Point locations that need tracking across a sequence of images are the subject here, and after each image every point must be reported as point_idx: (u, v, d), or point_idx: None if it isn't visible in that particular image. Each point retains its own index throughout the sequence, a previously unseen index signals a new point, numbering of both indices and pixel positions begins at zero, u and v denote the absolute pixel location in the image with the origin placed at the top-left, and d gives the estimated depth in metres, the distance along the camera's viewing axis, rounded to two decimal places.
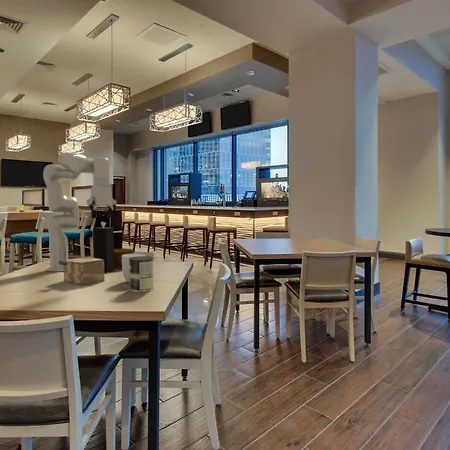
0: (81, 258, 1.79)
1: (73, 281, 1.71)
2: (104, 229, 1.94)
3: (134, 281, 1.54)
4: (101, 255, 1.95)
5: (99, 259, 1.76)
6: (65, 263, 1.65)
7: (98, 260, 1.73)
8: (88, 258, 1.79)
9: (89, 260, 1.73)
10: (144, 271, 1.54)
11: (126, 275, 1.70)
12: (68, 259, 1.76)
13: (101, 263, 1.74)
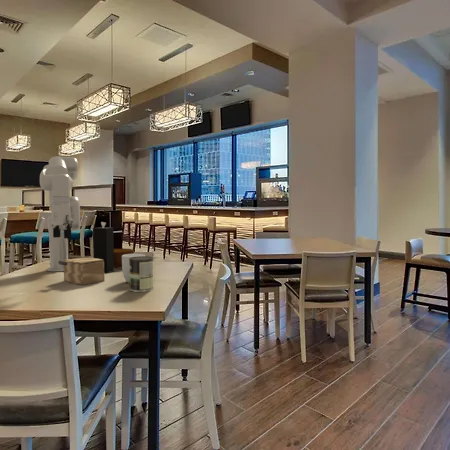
0: (81, 258, 1.79)
1: (73, 281, 1.71)
2: (104, 229, 1.94)
3: (134, 281, 1.54)
4: (101, 255, 1.95)
5: (99, 259, 1.76)
6: (65, 263, 1.65)
7: (98, 260, 1.73)
8: (88, 258, 1.79)
9: (89, 260, 1.73)
10: (144, 271, 1.54)
11: (126, 275, 1.70)
12: (68, 259, 1.76)
13: (101, 263, 1.74)
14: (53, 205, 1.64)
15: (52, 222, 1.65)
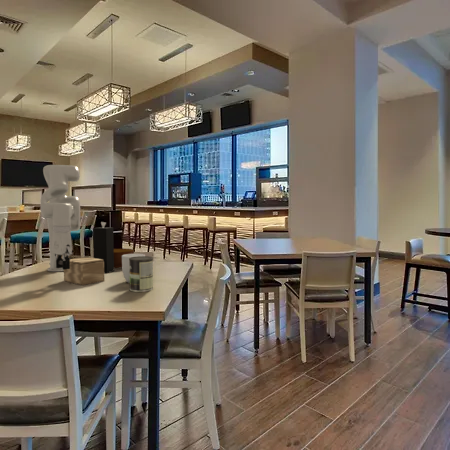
0: (81, 258, 1.79)
1: (73, 281, 1.71)
2: (104, 229, 1.94)
3: (134, 281, 1.54)
4: (101, 255, 1.95)
5: (99, 259, 1.76)
6: None
7: (98, 260, 1.73)
8: (88, 258, 1.79)
9: (89, 260, 1.73)
10: (144, 271, 1.54)
11: (126, 275, 1.70)
12: None
13: (101, 263, 1.74)
14: (54, 234, 1.65)
15: (53, 251, 1.66)
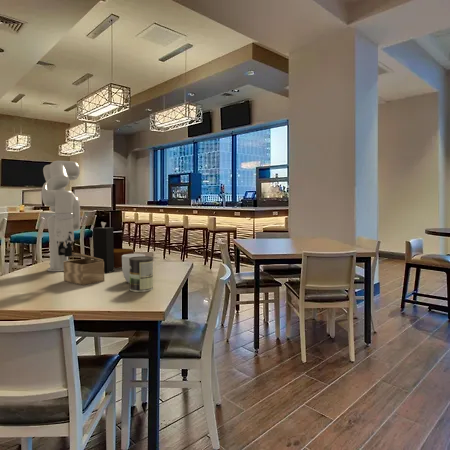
0: (82, 255, 1.79)
1: (73, 281, 1.71)
2: (104, 229, 1.94)
3: (134, 281, 1.54)
4: (101, 255, 1.95)
5: None
6: None
7: (98, 258, 1.73)
8: None
9: (90, 256, 1.73)
10: (144, 271, 1.54)
11: (126, 275, 1.70)
12: None
13: (101, 263, 1.74)
14: (56, 221, 1.66)
15: (55, 238, 1.67)
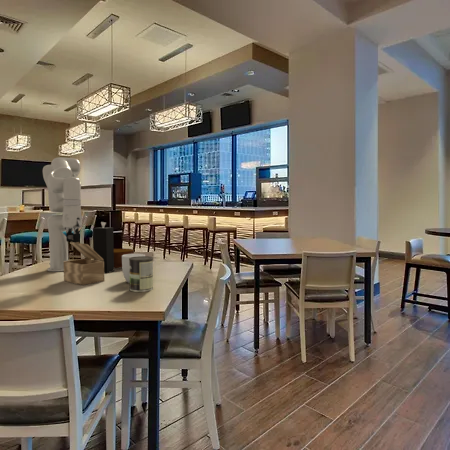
0: None
1: (73, 281, 1.71)
2: (104, 229, 1.94)
3: (134, 281, 1.54)
4: (101, 255, 1.95)
5: None
6: None
7: None
8: None
9: None
10: (144, 271, 1.54)
11: (126, 275, 1.70)
12: None
13: (101, 263, 1.74)
14: (64, 208, 1.69)
15: (63, 224, 1.70)
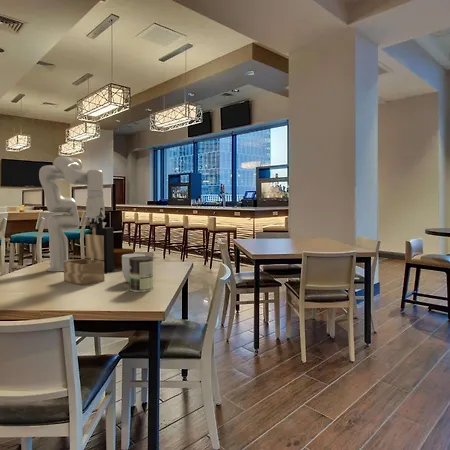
0: None
1: (73, 281, 1.71)
2: (104, 229, 1.94)
3: (134, 281, 1.54)
4: None
5: None
6: None
7: (103, 254, 1.75)
8: None
9: None
10: (144, 271, 1.54)
11: (126, 275, 1.70)
12: None
13: (101, 263, 1.74)
14: (88, 198, 1.79)
15: (87, 214, 1.79)
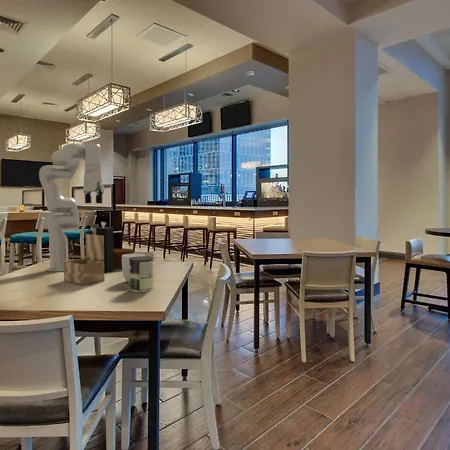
0: None
1: (73, 281, 1.71)
2: (104, 229, 1.94)
3: (134, 281, 1.54)
4: None
5: None
6: (97, 225, 1.78)
7: (103, 254, 1.75)
8: None
9: None
10: (144, 271, 1.54)
11: (126, 275, 1.70)
12: None
13: (101, 263, 1.74)
14: (85, 173, 1.78)
15: (84, 188, 1.79)
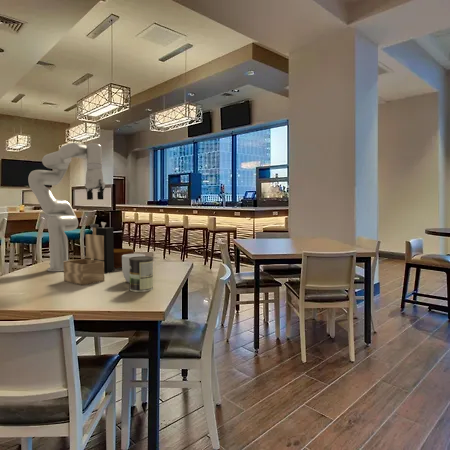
0: None
1: (73, 281, 1.71)
2: (104, 229, 1.94)
3: (134, 281, 1.54)
4: None
5: None
6: (97, 225, 1.78)
7: (103, 254, 1.75)
8: None
9: None
10: (144, 271, 1.54)
11: (126, 275, 1.70)
12: None
13: (101, 263, 1.74)
14: (87, 171, 1.90)
15: (86, 186, 1.91)
